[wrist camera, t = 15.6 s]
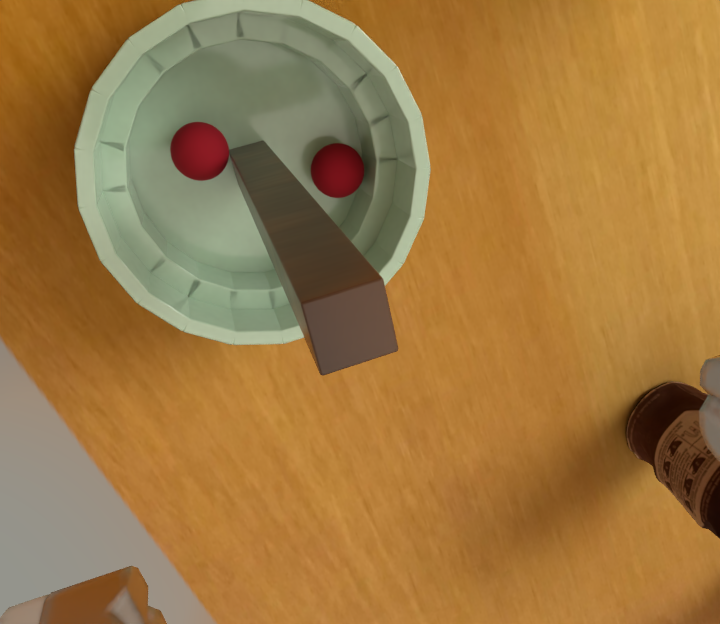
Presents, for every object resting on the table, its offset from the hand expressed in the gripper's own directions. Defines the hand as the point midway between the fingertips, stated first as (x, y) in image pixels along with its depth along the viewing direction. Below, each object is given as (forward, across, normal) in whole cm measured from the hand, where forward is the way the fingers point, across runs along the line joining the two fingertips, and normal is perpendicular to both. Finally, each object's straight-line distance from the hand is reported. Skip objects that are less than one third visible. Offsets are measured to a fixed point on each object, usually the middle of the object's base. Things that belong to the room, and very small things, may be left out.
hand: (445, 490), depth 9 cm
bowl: (+26, 0, 0) cm, 26 cm away
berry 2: (+24, -4, +1) cm, 24 cm away
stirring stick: (+25, 0, 0) cm, 25 cm away
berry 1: (+24, +2, -1) cm, 24 cm away
